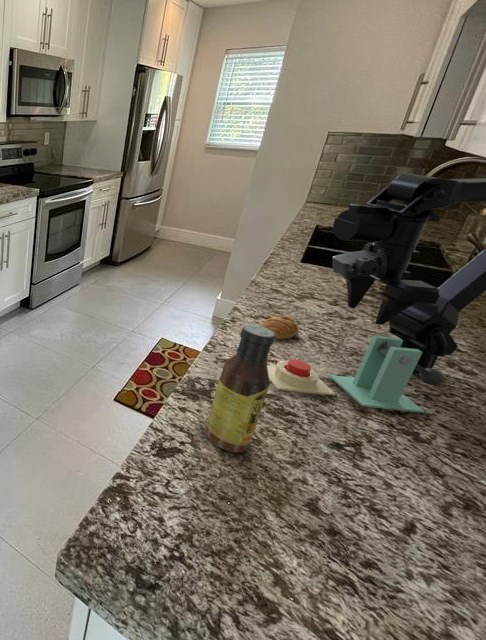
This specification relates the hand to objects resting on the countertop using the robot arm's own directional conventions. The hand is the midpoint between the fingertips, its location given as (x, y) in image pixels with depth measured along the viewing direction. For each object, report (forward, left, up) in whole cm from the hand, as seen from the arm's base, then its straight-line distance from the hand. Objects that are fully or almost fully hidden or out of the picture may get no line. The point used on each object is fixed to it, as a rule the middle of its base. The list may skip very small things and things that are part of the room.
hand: (364, 315), depth 83 cm
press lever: (-1, +11, -6) cm, 12 cm away
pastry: (+7, -12, -12) cm, 19 cm away
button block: (+15, +9, -12) cm, 21 cm away
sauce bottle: (+35, +27, -12) cm, 46 cm away
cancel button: (+15, +9, -9) cm, 20 cm away
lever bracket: (+2, +11, -12) cm, 16 cm away
